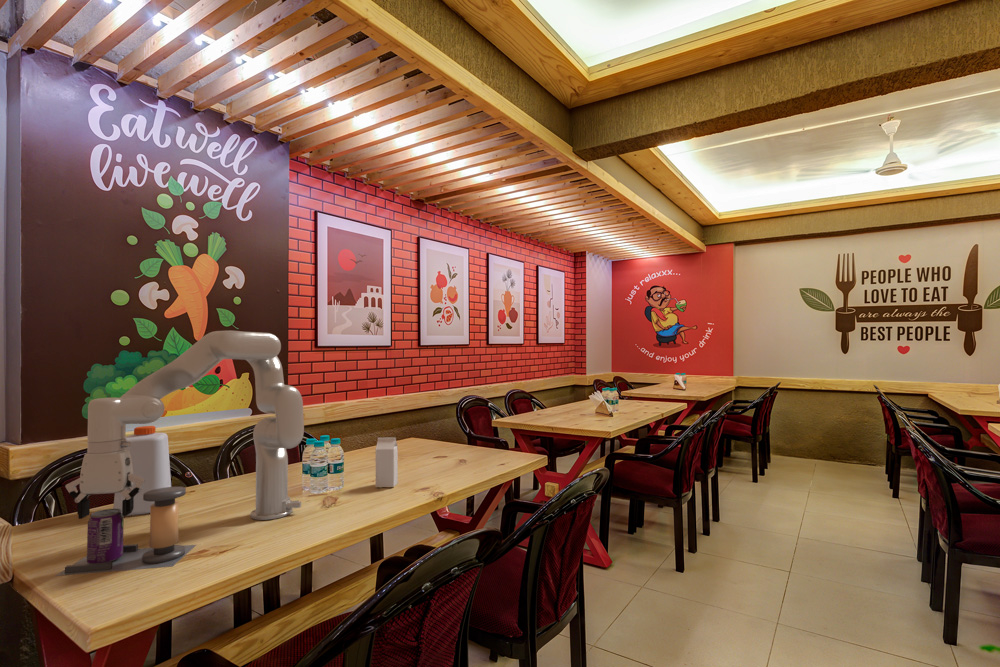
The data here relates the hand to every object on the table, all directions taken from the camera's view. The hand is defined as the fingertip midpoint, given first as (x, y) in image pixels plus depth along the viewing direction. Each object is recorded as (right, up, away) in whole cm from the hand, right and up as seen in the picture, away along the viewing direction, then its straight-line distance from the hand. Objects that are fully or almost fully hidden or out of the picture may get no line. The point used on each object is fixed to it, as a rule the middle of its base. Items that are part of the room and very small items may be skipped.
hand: (105, 515), depth 124 cm
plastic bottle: (-23, -15, +45) cm, 53 cm away
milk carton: (+54, -15, +72) cm, 91 cm away
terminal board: (+6, -12, 0) cm, 14 cm away
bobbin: (+13, -11, +2) cm, 17 cm away
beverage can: (0, -11, 0) cm, 11 cm away
